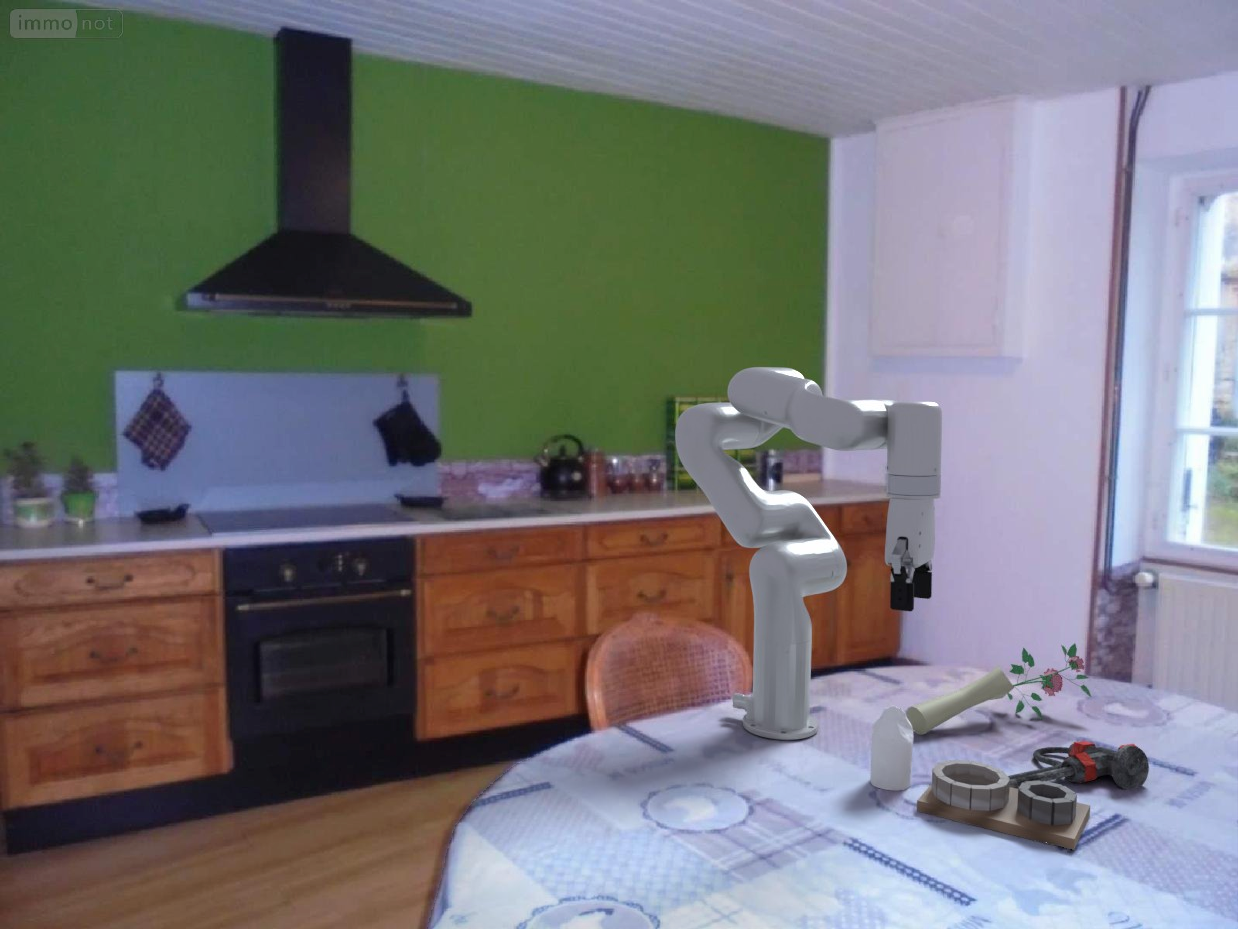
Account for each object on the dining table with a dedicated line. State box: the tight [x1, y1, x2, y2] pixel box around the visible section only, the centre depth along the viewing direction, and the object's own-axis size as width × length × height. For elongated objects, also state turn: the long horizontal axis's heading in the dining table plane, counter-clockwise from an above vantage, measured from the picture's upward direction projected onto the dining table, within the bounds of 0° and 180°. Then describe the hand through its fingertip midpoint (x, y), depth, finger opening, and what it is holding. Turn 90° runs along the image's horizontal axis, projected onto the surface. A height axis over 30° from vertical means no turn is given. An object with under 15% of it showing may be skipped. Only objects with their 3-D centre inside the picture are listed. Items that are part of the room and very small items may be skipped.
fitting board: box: [916, 759, 1091, 851], centre depth 139 cm, size 20×12×4 cm, turn 57°
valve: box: [1007, 740, 1150, 790], centre depth 153 cm, size 6×26×15 cm
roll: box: [869, 705, 914, 792], centre depth 148 cm, size 6×12×6 cm
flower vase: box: [905, 643, 1092, 736], centre depth 176 cm, size 12×12×35 cm
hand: (911, 603), depth 148 cm, fingers open, 9 cm apart
